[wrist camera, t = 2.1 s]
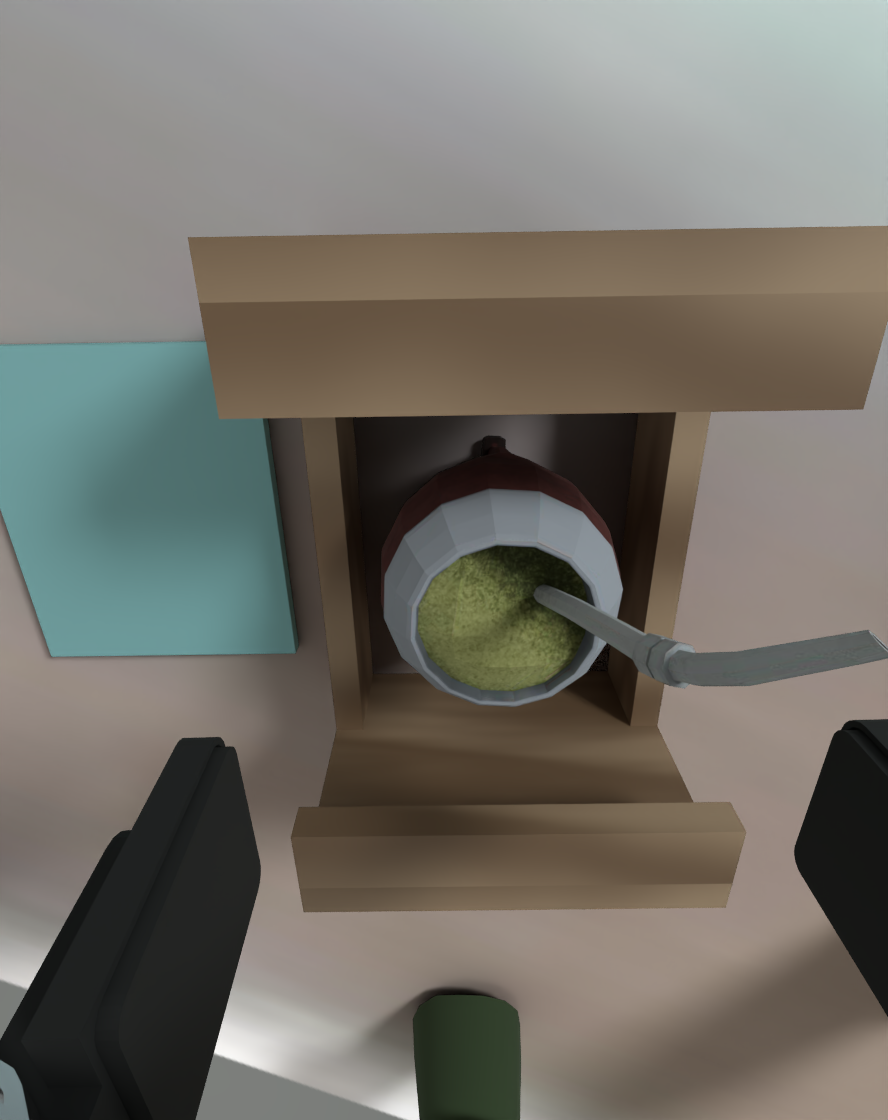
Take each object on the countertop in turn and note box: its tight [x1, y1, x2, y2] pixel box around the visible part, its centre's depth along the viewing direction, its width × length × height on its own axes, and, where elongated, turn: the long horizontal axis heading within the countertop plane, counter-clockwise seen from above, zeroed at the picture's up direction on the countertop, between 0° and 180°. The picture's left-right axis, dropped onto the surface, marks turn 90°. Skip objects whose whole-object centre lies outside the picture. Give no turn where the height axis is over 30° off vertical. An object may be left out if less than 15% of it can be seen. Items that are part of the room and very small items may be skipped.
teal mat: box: [0, 341, 299, 657], centre depth 22 cm, size 12×10×1 cm
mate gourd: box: [381, 436, 888, 707], centre depth 16 cm, size 8×8×15 cm
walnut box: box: [188, 226, 888, 912], centre depth 18 cm, size 17×12×10 cm
